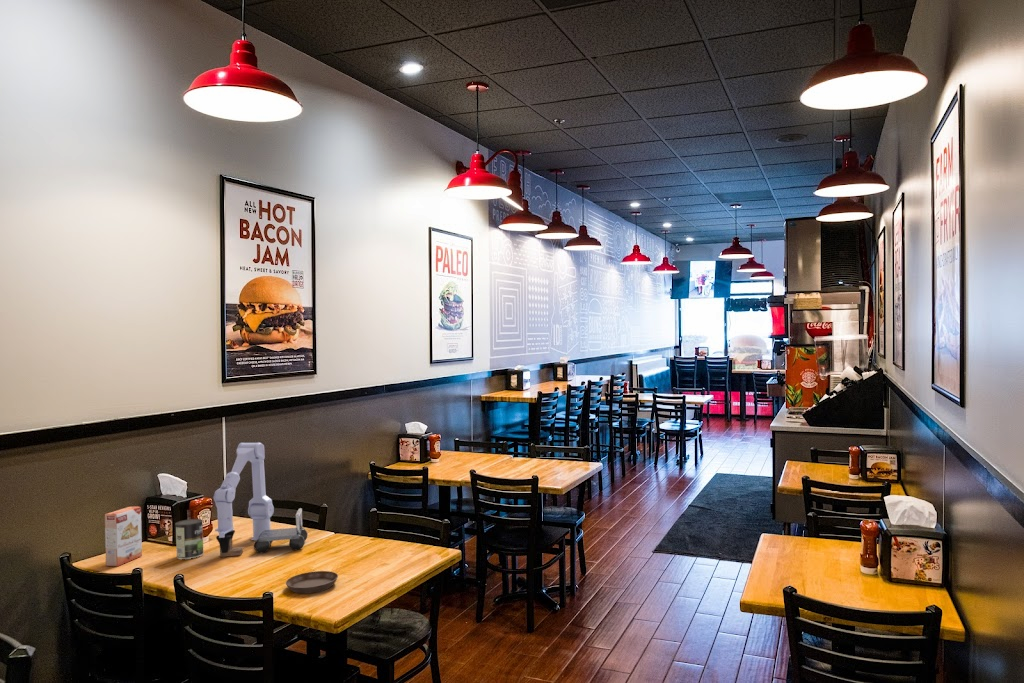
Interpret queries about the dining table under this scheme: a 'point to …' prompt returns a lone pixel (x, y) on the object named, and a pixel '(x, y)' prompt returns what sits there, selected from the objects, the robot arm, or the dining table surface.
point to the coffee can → (189, 538)
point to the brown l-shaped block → (232, 550)
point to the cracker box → (123, 536)
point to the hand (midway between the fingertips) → (226, 550)
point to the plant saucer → (312, 581)
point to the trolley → (283, 536)
